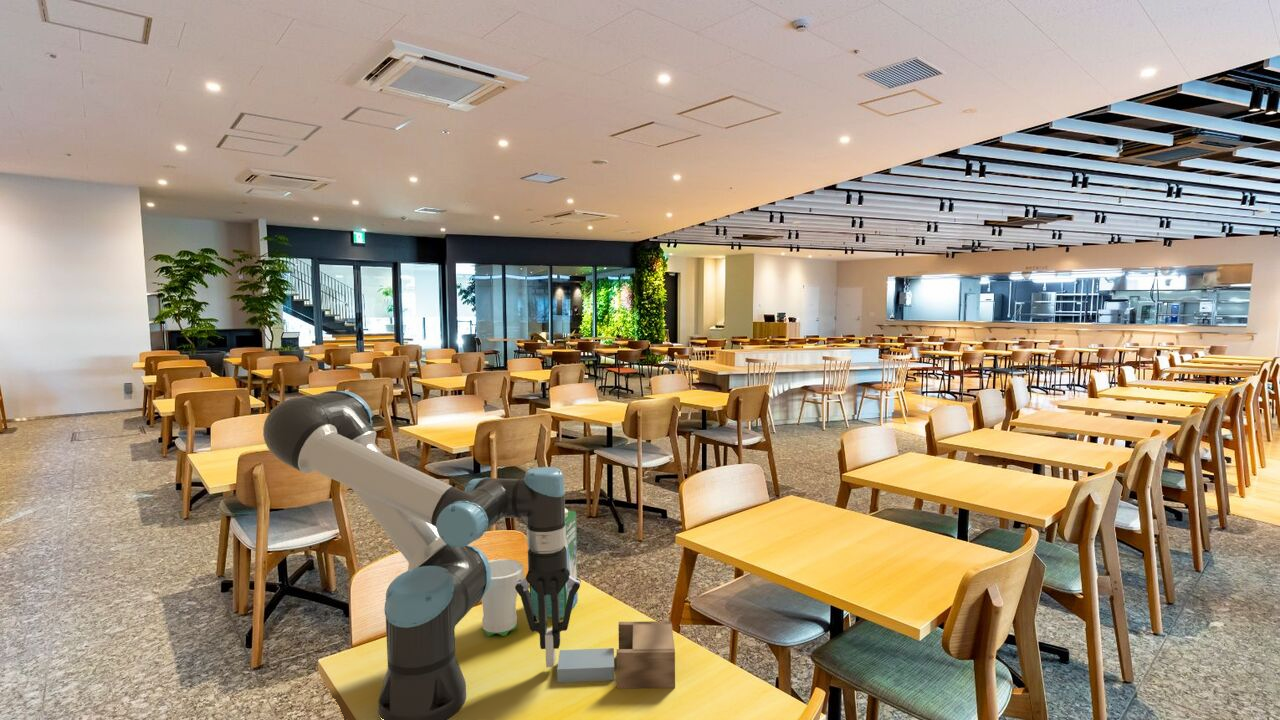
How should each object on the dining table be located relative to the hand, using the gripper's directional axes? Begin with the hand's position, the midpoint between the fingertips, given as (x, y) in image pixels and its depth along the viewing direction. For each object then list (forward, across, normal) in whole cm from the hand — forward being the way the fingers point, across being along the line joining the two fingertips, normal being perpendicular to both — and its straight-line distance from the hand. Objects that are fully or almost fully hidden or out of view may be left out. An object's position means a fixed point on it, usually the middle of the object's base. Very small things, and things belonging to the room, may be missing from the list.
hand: (550, 663), depth 124 cm
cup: (+2, -14, +17) cm, 22 cm away
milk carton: (+2, -3, +27) cm, 27 cm away
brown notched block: (+2, +19, 0) cm, 19 cm away
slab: (+2, +7, 0) cm, 7 cm away
